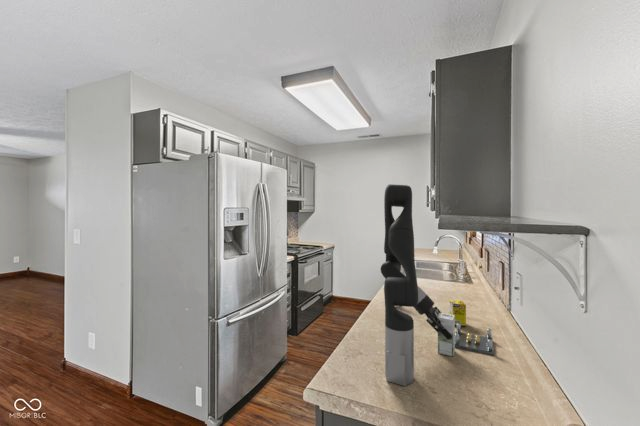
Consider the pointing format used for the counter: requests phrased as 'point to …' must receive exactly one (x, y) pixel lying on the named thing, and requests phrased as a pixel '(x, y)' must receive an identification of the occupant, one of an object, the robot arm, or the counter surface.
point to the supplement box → (458, 312)
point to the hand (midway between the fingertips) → (451, 334)
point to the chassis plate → (474, 341)
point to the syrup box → (443, 343)
